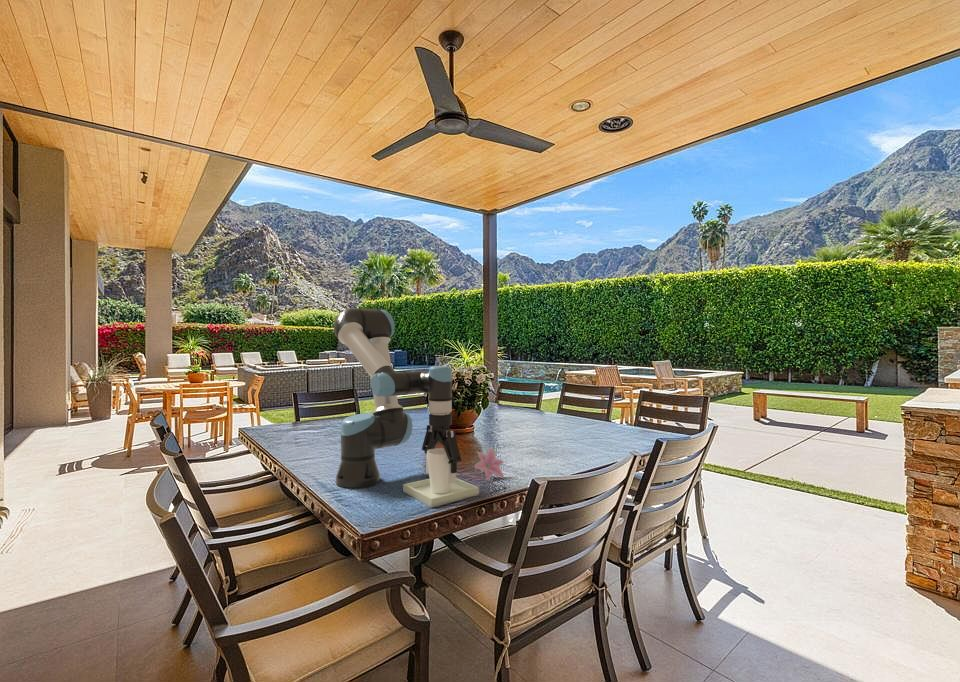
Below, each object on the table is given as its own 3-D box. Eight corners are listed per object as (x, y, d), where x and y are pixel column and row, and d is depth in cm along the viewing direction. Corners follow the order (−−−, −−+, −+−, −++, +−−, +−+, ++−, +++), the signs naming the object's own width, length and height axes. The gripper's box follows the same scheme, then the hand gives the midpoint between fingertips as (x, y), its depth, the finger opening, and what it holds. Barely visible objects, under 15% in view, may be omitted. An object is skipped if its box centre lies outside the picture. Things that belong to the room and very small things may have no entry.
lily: (468, 483, 166) (477, 462, 162) (468, 462, 176) (477, 442, 173) (499, 491, 167) (509, 471, 164) (498, 470, 178) (506, 451, 175)
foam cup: (453, 495, 147) (454, 454, 147) (424, 495, 147) (425, 454, 147) (455, 486, 156) (456, 448, 156) (428, 485, 156) (429, 447, 156)
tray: (431, 507, 139) (431, 499, 139) (403, 491, 153) (403, 484, 153) (478, 495, 150) (478, 487, 150) (448, 481, 164) (448, 474, 164)
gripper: (472, 416, 144) (472, 484, 144) (430, 407, 163) (430, 467, 163) (452, 419, 139) (452, 489, 139) (411, 409, 159) (412, 470, 159)
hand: (440, 477), depth 151 cm, fingers open, 13 cm apart
